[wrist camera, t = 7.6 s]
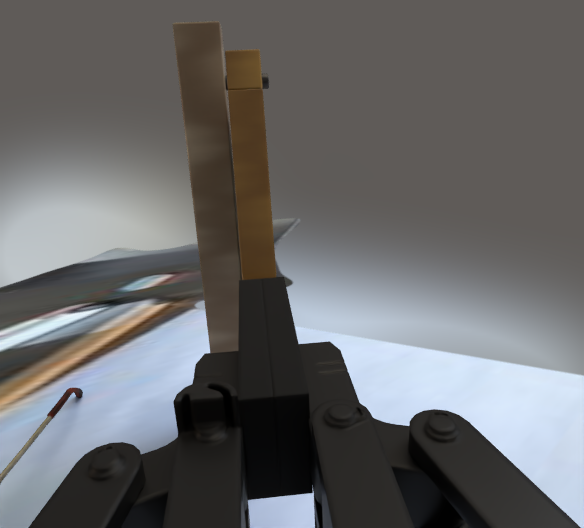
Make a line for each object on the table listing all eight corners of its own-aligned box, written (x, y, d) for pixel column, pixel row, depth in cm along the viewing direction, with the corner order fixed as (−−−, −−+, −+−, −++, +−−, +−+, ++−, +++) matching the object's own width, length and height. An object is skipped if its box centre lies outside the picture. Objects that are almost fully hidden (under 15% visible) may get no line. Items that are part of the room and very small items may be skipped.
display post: (206, 487, 31) (143, 15, 22) (214, 393, 41) (172, 33, 31) (330, 473, 32) (323, 9, 22) (310, 384, 41) (298, 28, 32)
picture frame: (246, 346, 20) (225, 50, 20) (249, 307, 36) (237, 142, 36) (281, 343, 20) (259, 48, 20) (268, 305, 36) (256, 141, 36)
